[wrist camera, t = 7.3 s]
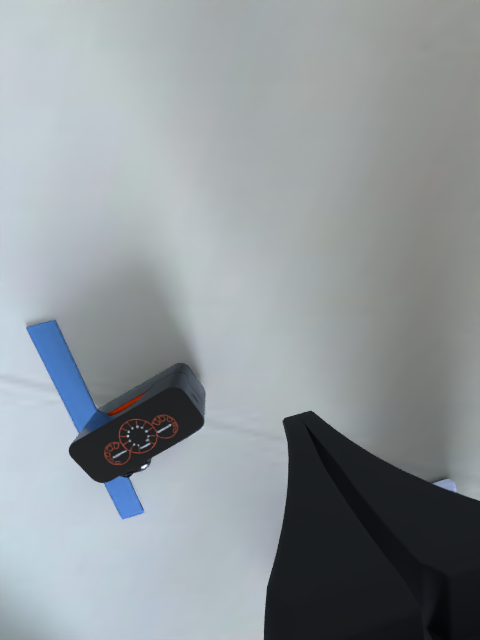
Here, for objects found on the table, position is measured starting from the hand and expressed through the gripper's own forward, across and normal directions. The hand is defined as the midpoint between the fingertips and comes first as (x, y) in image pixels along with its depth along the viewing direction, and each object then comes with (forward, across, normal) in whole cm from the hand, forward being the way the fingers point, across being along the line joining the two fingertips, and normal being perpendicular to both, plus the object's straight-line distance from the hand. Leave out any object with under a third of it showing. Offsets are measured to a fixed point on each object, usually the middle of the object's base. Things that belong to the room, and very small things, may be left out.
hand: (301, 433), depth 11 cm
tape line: (+5, +12, 0) cm, 13 cm away
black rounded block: (+5, +8, 0) cm, 9 cm away
